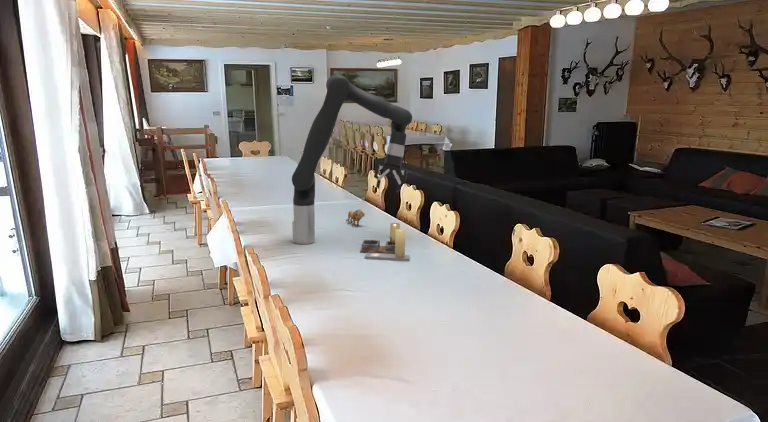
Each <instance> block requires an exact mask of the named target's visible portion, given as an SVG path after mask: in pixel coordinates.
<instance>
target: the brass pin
mask: <svg viewBox="0 0 768 422" xmlns="http://www.w3.org/2000/svg"><path fill="white" fill-rule="evenodd" d="M389 226H390V227H389V241H390V245H395V230H396V229H401V227H400V222H390V224H389Z"/></svg>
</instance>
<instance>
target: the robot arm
mask: <svg viewBox="0 0 768 422" xmlns="http://www.w3.org/2000/svg"><path fill="white" fill-rule="evenodd" d="M325 87H326V90H327V91H326V95H325V96H324V97H325V98H324V101H323V104H322V106H321V108H320V109H319V111H318V113H317V114H316V116H315V118H314V120H313V121H312V123H311V127H310V128H309V131H308V133H307V137H306V141H305V144H304V148H303V150H302V151H303V152H302V156H301V157H300V160H299V162H298V164H297V166H296V168H295V170H294V172H293V174H292V176H291V183H292V185H293V189H294V190H293V198H292V199H293V200H292V202H293V206H292V207H293V209H292V210H293V221H292V223H291V224H292V226H291V227H292V228H291V229H292V243H294V244H298V245H308V244H313V243H315V242H316V239H315V238H316V234H315V232H316V229H315V227H316V223H315V218H316V216H315V214H316V213H315V212H316V211H315V199H316V198H315V197H316V176H315V173H316V169H317V166H318V163H319V161H320V159H321V158H322V156H323V154H324V152H325V150H326V148H327V147H328V144H329V142H330V139H331V138H332V135H333V132H334V129H335V126H336V122H337V119H338V115H339V113H340V110H341V108H342V106H343V104H344V102H345V100H347V101H351V102H353V103H354V104H356V105H359V106H361V107H362V108H364V109H365V110H367V111H369V112H371V113H373V114H375V115H377V116H379V117H380V118H383V119H388V120H391V125H390V126H391V127H390V137H389V143H388V146H387V149H386V154H385V157H384V158H385V159H384V162H383V163H384V164H383V165H380V164H377V165H376V168H375V171H374V174H373V178H374V179H376V180H377V182H376V185H375V186H376V188H377V189H380V188H381V187H380V186H381V183H382V182H381V181H382V180H381V179H383V178H385V176H386V177H388V178H389V177H390V178H393V179H396V181H397V183H398V184H397V186H396V191H395V193H397V194H398V193H400V191H401V186H402V185H405V184H406V183H407V177H408V176H407V174H408V170H407V169H406V170H403V169H402V163H403V158H404V154H405V145H406V141H407V134H406V126H409V125H411V123H412V121H413V115H412V112H410V111H409V110H407V109H405V108H403V107H402V106H399V105H395V104H392V103H391V102H389V101H388V100H385V99H383V98H381V97H379V96H377V95H374V94H372V93H370V92H367V91H365V90H363V89H361V88H359V87H357V86H355V85H354V84H353V83H351V82H350V81H349V80H348V78H347V77H345V76H344V75H341V74H334V75H331V76H329V78H328V79H327V80H326V83H325ZM381 170H382V171H383V173H382V174H381V175H380V176H378V175H379V173H380V172H379V171H381ZM400 174H402V176H403V177H402V180H401V179H400V176H399V175H400Z"/></svg>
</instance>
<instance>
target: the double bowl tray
mask: <svg viewBox="0 0 768 422" xmlns="http://www.w3.org/2000/svg"><path fill="white" fill-rule="evenodd" d="M359 252H360V253H363V254H366V253H381V254H395V245H390V240H386V242H385V244H384V245H381V240H379V239H363V241H362V242H361V247H360V249H359Z"/></svg>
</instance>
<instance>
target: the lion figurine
mask: <svg viewBox="0 0 768 422" xmlns="http://www.w3.org/2000/svg"><path fill="white" fill-rule="evenodd" d="M365 216H366V213H365V212H364V211H363V209H361V208H360V209H357V210H355V211H353V210H349V211H348V213H347V219H345V221H346V222H347V225H350V224H351V223H352V224H353V227H354V228H355V227H360V221H361V220H362V219H363V218H365Z"/></svg>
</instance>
